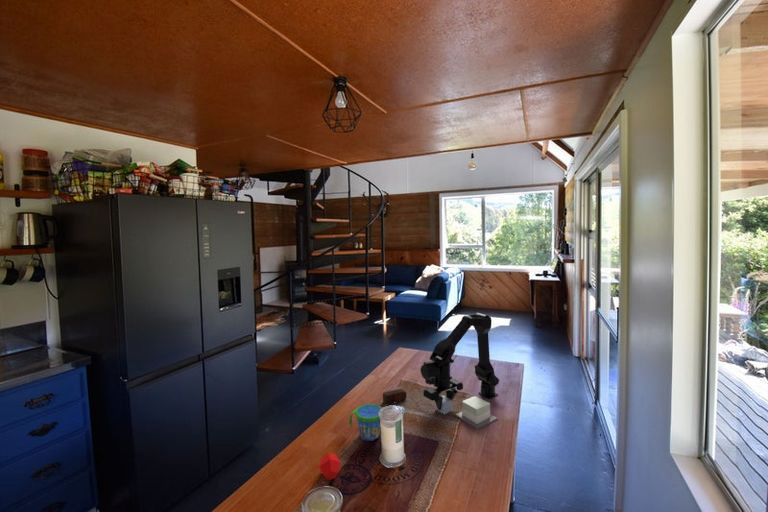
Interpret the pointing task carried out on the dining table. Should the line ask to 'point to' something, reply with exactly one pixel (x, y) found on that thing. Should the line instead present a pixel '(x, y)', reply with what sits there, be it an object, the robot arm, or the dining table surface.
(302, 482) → the dining table surface
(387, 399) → the brick
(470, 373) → the dining table surface
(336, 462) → the red rounded lump
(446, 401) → the top block
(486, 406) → the pale block on slab
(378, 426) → the snack cup
